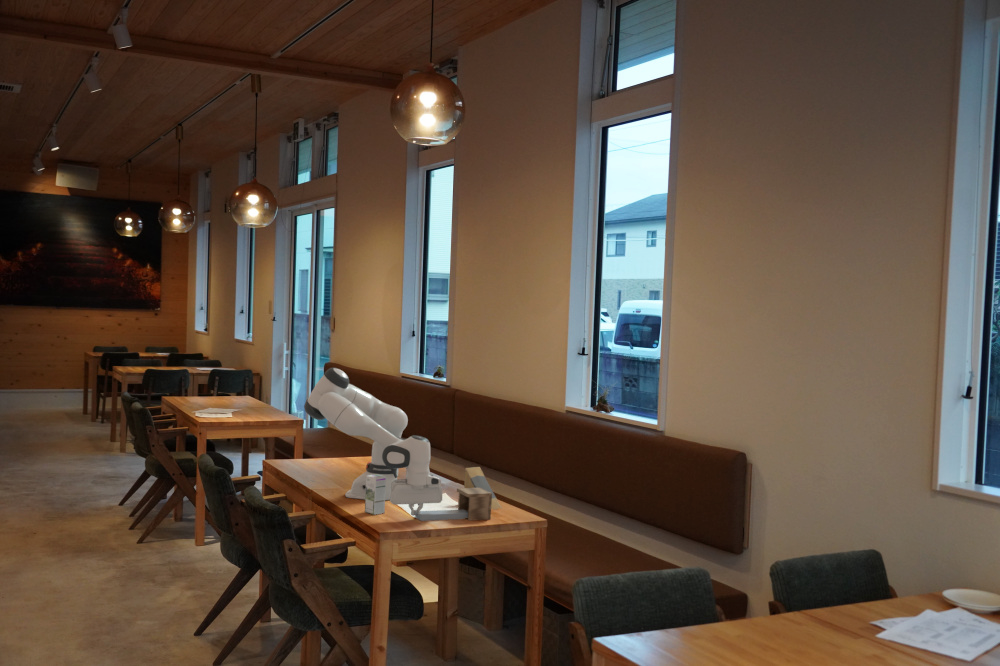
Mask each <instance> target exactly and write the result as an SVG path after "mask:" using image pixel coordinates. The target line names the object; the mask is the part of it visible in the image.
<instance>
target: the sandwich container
mask: <svg viewBox="0 0 1000 666" xmlns="http://www.w3.org/2000/svg"><path fill="white" fill-rule="evenodd" d="M463 485H464V487H463V488H482V489H484V490H486V491H488V492H490V493H492V503H491V509H493V510H498V508H499V509H503V507H502V506H501V504H500V502H499V501H498V498H497V496H496V495H495V493H494V492H493V489H492V487H491V486H490V484H489V482H488V480H487V478H486V476H485V474H484V472H483V470H482V469H481V467H480V466H473V467H465V469H464V484H463Z"/></svg>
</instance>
